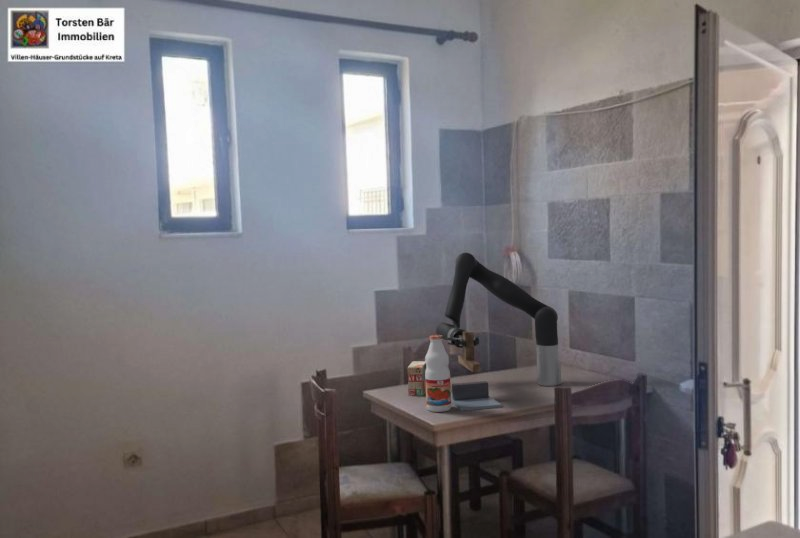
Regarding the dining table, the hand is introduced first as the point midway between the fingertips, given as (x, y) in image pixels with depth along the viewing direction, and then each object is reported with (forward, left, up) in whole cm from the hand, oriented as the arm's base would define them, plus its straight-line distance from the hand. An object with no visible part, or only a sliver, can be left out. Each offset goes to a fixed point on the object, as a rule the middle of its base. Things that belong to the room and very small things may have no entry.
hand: (470, 343), depth 242 cm
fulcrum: (0, -3, -23) cm, 23 cm away
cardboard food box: (+15, -28, -23) cm, 39 cm away
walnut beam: (0, -3, -10) cm, 10 cm away
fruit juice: (+15, +5, -23) cm, 28 cm away
